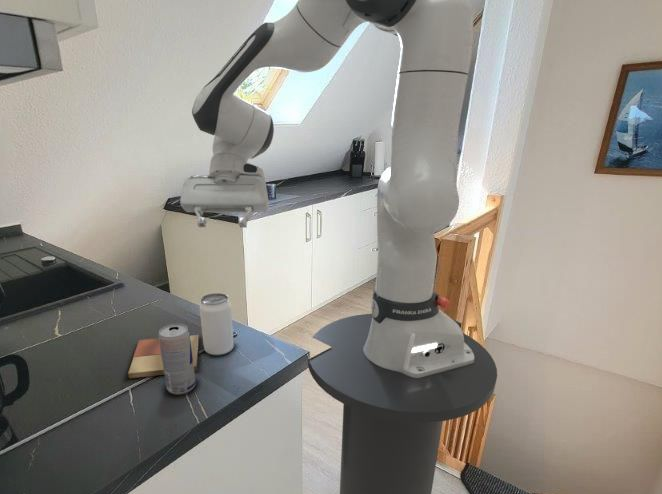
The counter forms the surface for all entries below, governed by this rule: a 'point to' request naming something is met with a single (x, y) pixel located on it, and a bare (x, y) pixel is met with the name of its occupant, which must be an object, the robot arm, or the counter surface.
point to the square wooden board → (155, 358)
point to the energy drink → (177, 358)
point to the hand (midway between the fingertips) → (222, 226)
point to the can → (216, 324)
